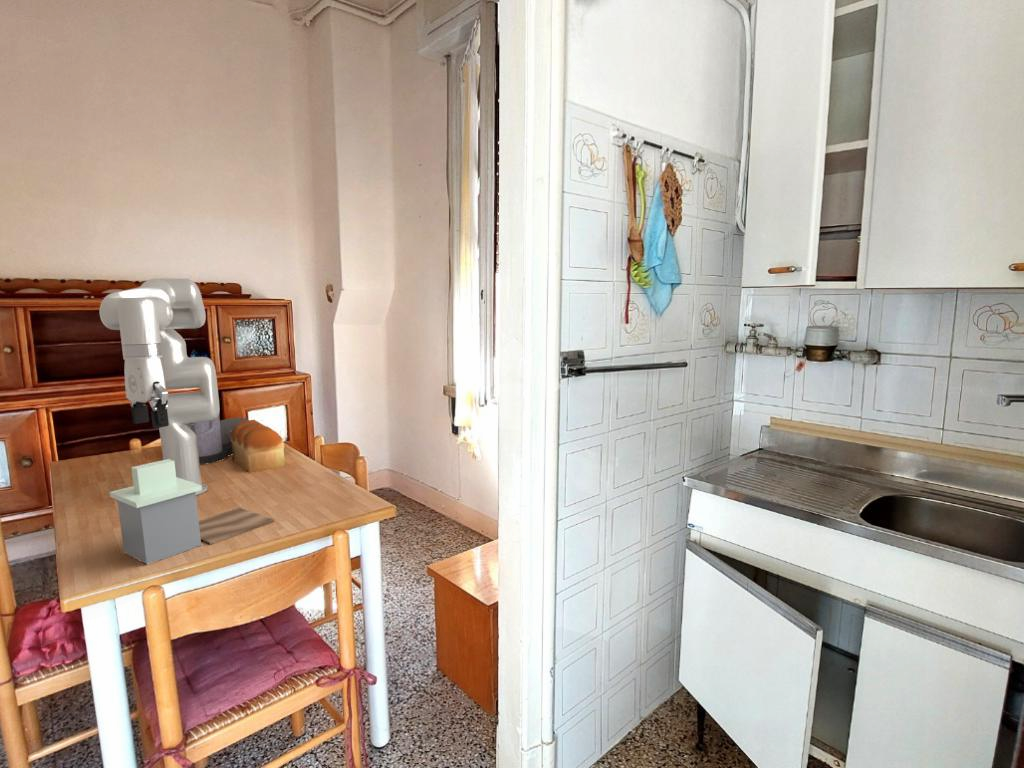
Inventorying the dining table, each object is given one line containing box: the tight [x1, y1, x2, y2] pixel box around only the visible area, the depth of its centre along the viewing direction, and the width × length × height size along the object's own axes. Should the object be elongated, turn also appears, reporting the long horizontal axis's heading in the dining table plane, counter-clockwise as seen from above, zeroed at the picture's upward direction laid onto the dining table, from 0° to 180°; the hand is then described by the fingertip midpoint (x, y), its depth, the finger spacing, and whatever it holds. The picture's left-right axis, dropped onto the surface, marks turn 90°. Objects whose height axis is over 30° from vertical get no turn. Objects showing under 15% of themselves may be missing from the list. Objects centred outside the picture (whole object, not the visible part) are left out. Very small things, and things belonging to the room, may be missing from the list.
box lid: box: [109, 459, 202, 508], centre depth 130 cm, size 14×14×8 cm
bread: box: [230, 419, 286, 474], centre depth 206 cm, size 25×12×15 cm, turn 40°
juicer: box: [185, 415, 249, 466], centre depth 216 cm, size 30×16×24 cm, turn 157°
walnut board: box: [199, 507, 275, 545], centre depth 146 cm, size 17×17×1 cm
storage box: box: [117, 492, 202, 565], centre depth 132 cm, size 12×12×14 cm
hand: (151, 424), depth 129 cm, fingers open, 9 cm apart
